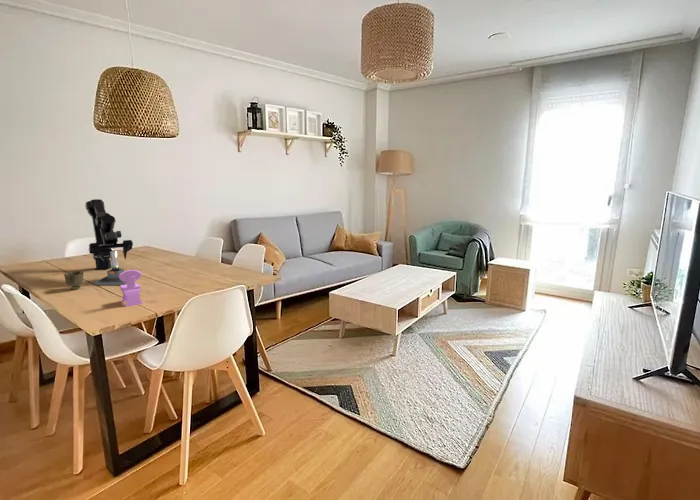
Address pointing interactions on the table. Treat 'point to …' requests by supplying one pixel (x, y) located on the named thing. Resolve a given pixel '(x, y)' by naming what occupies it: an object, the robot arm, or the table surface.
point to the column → (114, 260)
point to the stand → (111, 278)
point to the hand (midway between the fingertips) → (115, 259)
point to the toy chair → (130, 287)
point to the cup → (74, 279)
